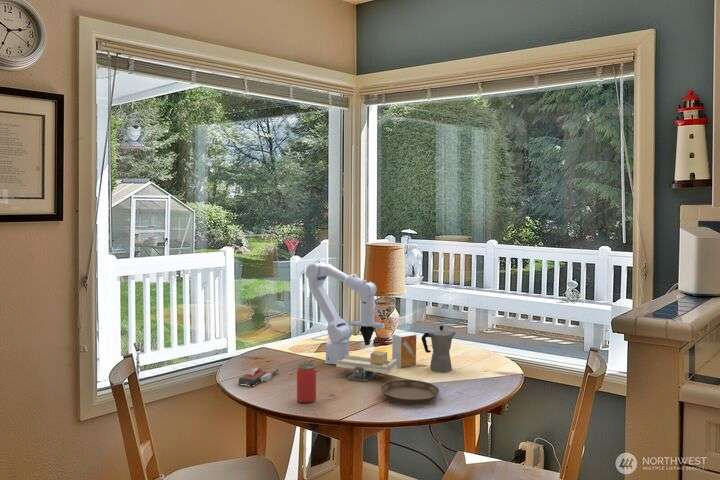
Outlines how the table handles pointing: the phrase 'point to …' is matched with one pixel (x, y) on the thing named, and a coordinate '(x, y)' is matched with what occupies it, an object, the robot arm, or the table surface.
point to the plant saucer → (409, 392)
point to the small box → (404, 349)
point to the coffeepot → (439, 349)
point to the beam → (366, 364)
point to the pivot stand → (361, 375)
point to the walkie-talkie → (256, 376)
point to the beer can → (306, 383)
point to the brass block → (379, 358)
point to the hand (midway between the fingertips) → (367, 344)
